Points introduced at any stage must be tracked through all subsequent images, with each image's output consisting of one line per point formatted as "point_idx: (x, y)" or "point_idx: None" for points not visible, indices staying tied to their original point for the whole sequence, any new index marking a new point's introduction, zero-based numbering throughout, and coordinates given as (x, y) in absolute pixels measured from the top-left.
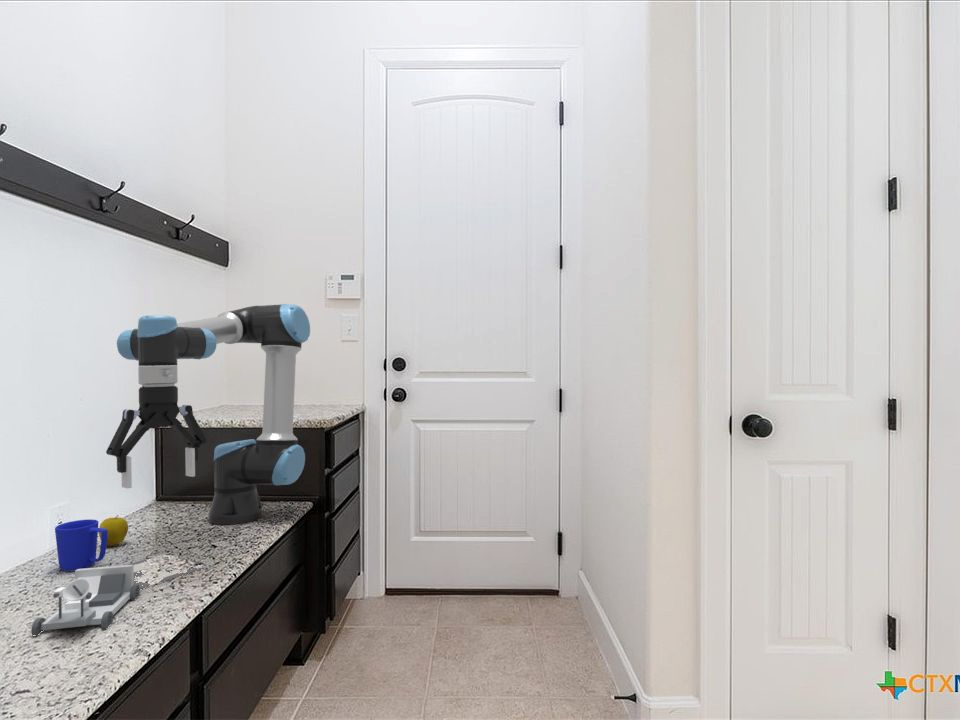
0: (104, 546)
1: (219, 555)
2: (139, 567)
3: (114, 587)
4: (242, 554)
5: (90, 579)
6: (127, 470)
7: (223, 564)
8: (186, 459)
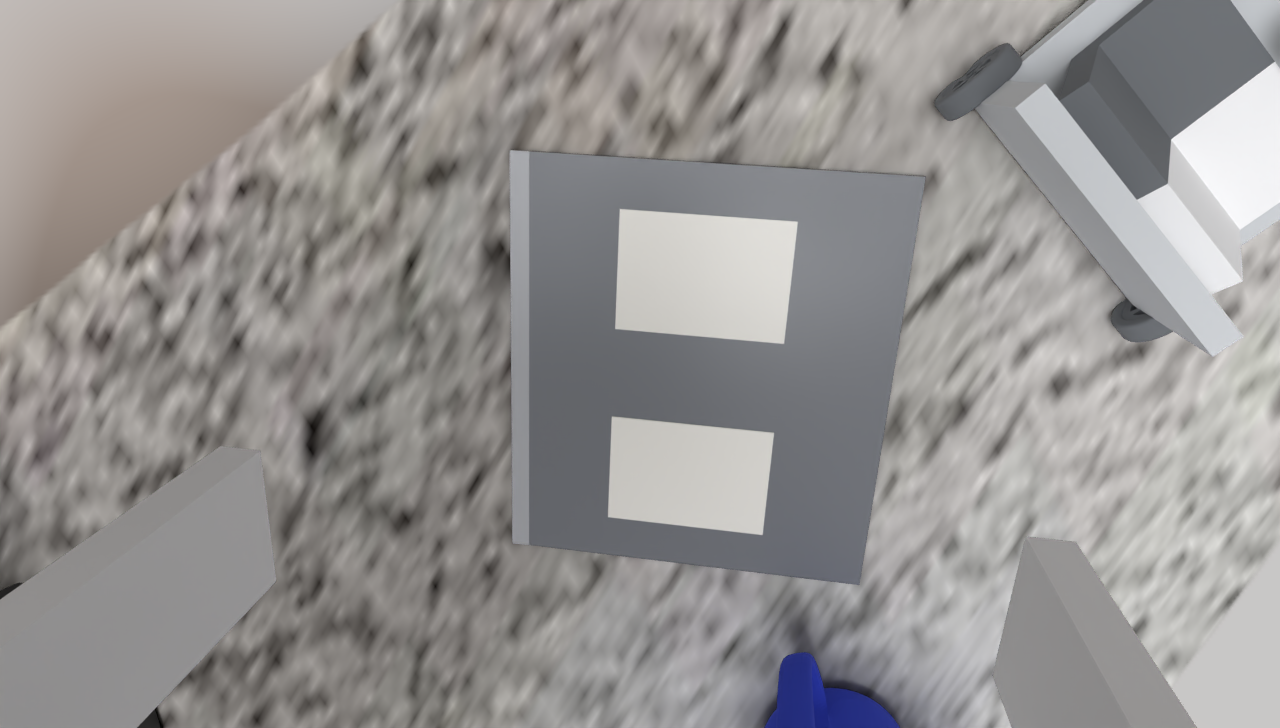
0: (794, 682)
1: (371, 276)
2: (702, 472)
3: (1118, 84)
4: (287, 170)
5: (1201, 217)
6: (1189, 722)
7: (432, 119)
8: (125, 708)
